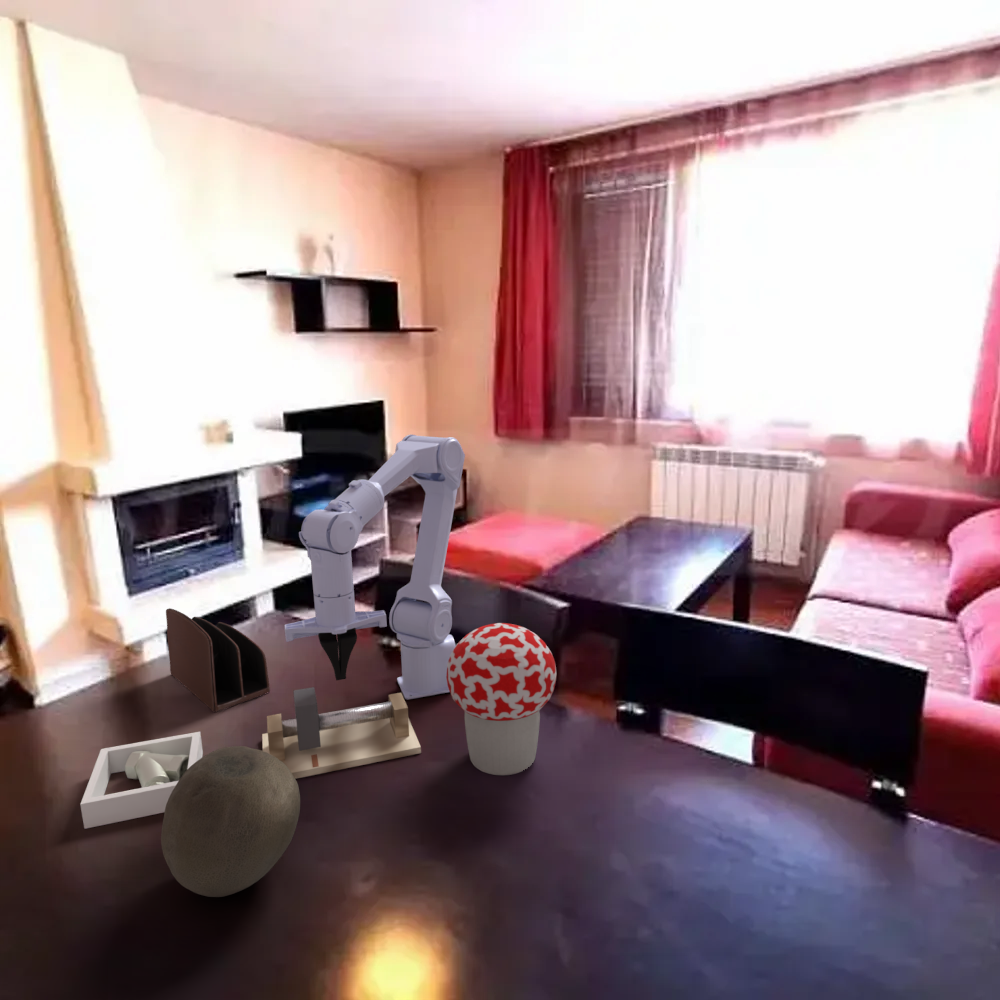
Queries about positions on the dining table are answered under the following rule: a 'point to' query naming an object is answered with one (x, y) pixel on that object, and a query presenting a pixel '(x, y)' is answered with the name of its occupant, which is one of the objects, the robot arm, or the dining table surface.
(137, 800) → the parts frame
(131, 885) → the dining table surface
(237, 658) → the letter holder
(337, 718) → the pipe
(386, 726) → the pipe stand
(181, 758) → the pipe fitting
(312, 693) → the collar
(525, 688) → the decorative object
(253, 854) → the kiwi fruit
